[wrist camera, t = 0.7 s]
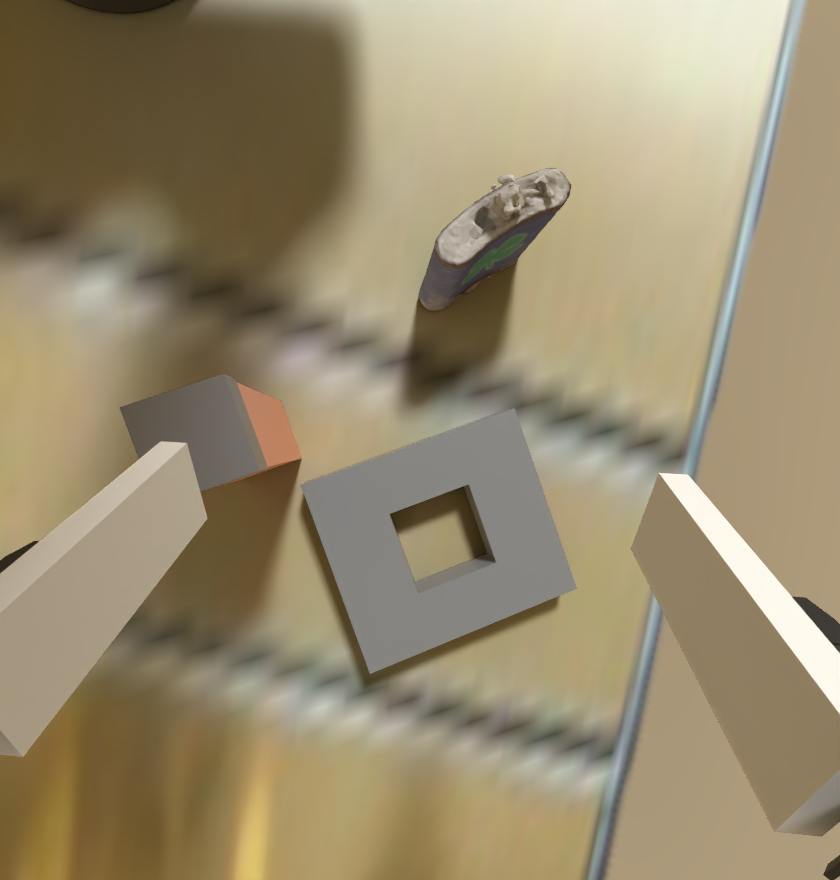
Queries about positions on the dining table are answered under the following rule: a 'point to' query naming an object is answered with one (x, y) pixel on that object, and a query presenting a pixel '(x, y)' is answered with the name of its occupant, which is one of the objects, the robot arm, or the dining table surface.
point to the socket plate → (458, 588)
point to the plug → (216, 429)
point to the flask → (491, 234)
